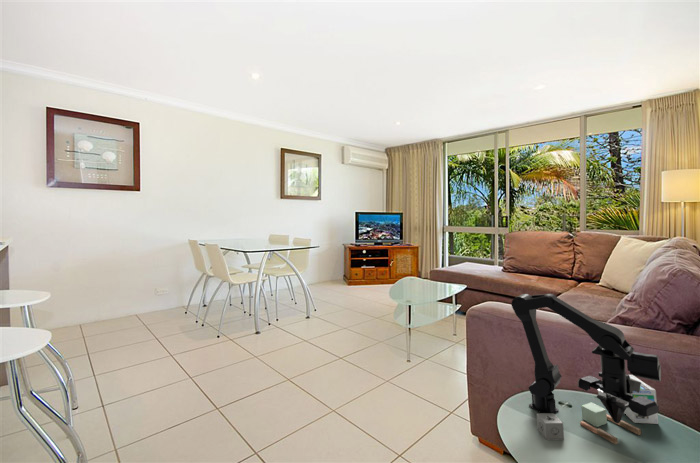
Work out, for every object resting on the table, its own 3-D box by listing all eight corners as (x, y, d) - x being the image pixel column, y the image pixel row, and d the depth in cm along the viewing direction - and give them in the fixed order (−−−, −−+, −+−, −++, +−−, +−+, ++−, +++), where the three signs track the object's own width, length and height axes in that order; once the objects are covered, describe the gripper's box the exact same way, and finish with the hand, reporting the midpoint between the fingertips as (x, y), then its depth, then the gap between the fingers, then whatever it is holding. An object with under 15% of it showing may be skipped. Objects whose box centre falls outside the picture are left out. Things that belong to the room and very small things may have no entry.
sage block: (582, 419, 103) (581, 405, 103) (592, 415, 104) (591, 402, 104) (596, 427, 99) (595, 412, 99) (607, 423, 100) (606, 409, 100)
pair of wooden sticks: (580, 424, 100) (580, 420, 100) (604, 416, 104) (604, 411, 104) (615, 444, 91) (615, 439, 91) (640, 434, 94) (640, 429, 94)
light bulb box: (659, 424, 98) (657, 389, 98) (634, 423, 99) (631, 389, 99) (635, 405, 108) (633, 374, 108) (613, 404, 110) (611, 373, 110)
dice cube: (546, 440, 95) (545, 423, 95) (537, 429, 100) (536, 413, 100) (564, 439, 94) (562, 422, 94) (554, 429, 99) (553, 413, 99)
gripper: (669, 378, 89) (673, 433, 89) (599, 354, 106) (602, 401, 106) (643, 386, 85) (647, 444, 85) (575, 361, 103) (578, 409, 103)
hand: (616, 422), depth 95 cm, fingers closed
